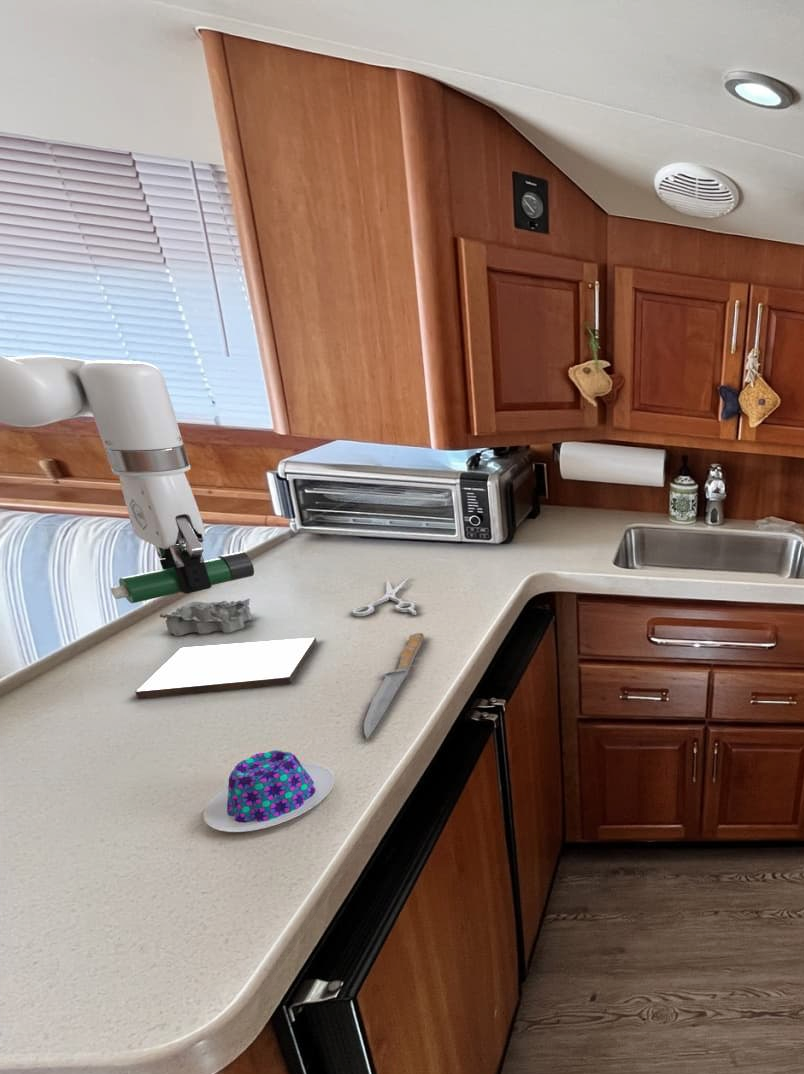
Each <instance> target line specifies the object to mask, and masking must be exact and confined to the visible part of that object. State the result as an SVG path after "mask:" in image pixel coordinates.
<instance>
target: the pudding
mask: <svg viewBox="0 0 804 1074" xmlns="http://www.w3.org/2000/svg"><path fill="white" fill-rule="evenodd" d="M334 785H335V775H334V773H333V771H332V770H330V769H329V768H327V767H326V766H324V765H321V764H317V763H310V762H300V760H299V759H298V758H297V756H296V755H295V754H294V753H292V752H290V751H282V750H277V749H274V750H270V751H267V752H259V753H256V754H253V755H251V756H250V757H249V758H247V759H244V760H241V761H240V762H238V763H237V764H236V765H235V766H234V768H233V770H231V772H230V774H229V777H228V785H227V786H226V787H225V788H223V789H221V791H219V792H217V794H216V795H214V797H212V798H211V799H210V801H209V802H208V803H207V805H206V807H205V808H204V811H203V820H204V822H205V824H206V825H207V826H209V828H211V829H213V830H216V831H220V832H227V833H243V832H254V831H257V830H262V829H267V828H270V827H273V826H276V825H279V824H282V823H285V822H287V821H288V822H289V820H292V819H295V818H296V817H299V816H301V815H303V814H304V813H306V812H308V811H309V810H311V809H313V808H314V807H315V806H317V805H318V804H319V803H320V802H322V801H323V800H324V799H325V798H326V797H327V796H328V795H329V794H330V792H331V790H332V789H333V787H334Z"/></svg>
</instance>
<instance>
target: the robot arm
mask: <svg viewBox="0 0 804 1074" xmlns="http://www.w3.org/2000/svg"><path fill="white" fill-rule="evenodd" d="M84 416H92V417H93V420H94V422H95V425H96V428H97V430H98V433H99V436H100V440H101V442H102V446H103V448H104V451H105V454H106V457H107V460H108V462H109V463H108V464H109V466H110V469H111V471H112V474H113V475H116V476H119V482H120V487H121V491H122V497H123V499H124V503H125V506H126V511H127V513H128V517H129V521H130V524H131V528H132V531H133V533H134V535H135V536H136V537H137V538H139V539H140V540H142V541H144V542H145V543H149V544H151V545H153V546H155V551H156V555H157V556H158V558H159V563H160V566H161V570H163V569H168V568H173V567H174V570H175V573H176V576H177V579H178V582H179V585H180V588H181V591H182V592H181V593H182V594H185V595H187V594H192V593H197V592H201V591H204V590H208V589H211V588H212V585H211V583H210V580H209V576H208V573H207V570H206V567H205V563H204V561H205V559H204V556H203V553H204V547H203V546H202V544H201V543H203V542H205V540H206V538H207V535H206V530H205V529H206V528H205V526H204V522H203V519H202V516H201V513H200V510H199V507H198V504H197V502H196V499H195V495H194V493H193V490H192V487H191V485H190V483H189V481H188V478H187V476H186V473H185V472H188V471H190V470H191V468H192V467H191V465H190V461H189V458H188V454H187V450H186V448H185V444H184V441H183V437H182V435H181V432H180V428H179V424H178V420H177V417H176V413H175V410H174V408H173V404H172V401H171V397H170V394H169V391H168V386H167V383H166V380H165V378H164V375H163V373H162V372H161V371H160V369H159V368H158V367H156V366H155V365H153V364H151V363H147V362H141V361H132V360H131V361H130V360H95V361H94V360H93V361H92V360H86V359H85V360H84V359H78V358H71V357H64V356H58V355H49V354H48V355H47V354H46V355H45V354H42V355H41V354H37V355H23V356H13V357H7V356H4V355H3V354H0V424H3V425H7V426H13V427H20V428H35V427H41V426H45V425H49V424H53V423H57V422H61V421H65V420H69V419H73V418H79V417H84Z"/></svg>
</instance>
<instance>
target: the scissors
mask: <svg viewBox="0 0 804 1074" xmlns="http://www.w3.org/2000/svg"><path fill="white" fill-rule="evenodd" d="M408 580H409V577H407V578H405V579H404V580H403V581H402V582H401V583H399V584H398V585H397V586H396V587H394V588H393V587H392V585H391V583H390V581H389V579H388V578H386V587H385V589H386V590H385V591H386V592H385V594H384V595H383V596H382V597H380V598H379V599H376V600H373V601H372V602H371V603H369V604H365V605H359V606H358V607H355V608H353V610H352V615H354V616H355V617H364V616H368V615H370V614H373V612H375V606H378V605H380V604H382V603H385V602H388V601H393V602H395V603H397V604H396V605H394V608H395V610H396V611H397V612H401V613H410V614H411V615H412V616H416V615H417V610H415V609H416V606H415V603H414V602H411V601H405V600H403V599H402V598H398V597H397V596H396V594H397V593H398V592H399V591H400V589H402V588H403V586H404V585H405V583H407V581H408Z"/></svg>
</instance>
